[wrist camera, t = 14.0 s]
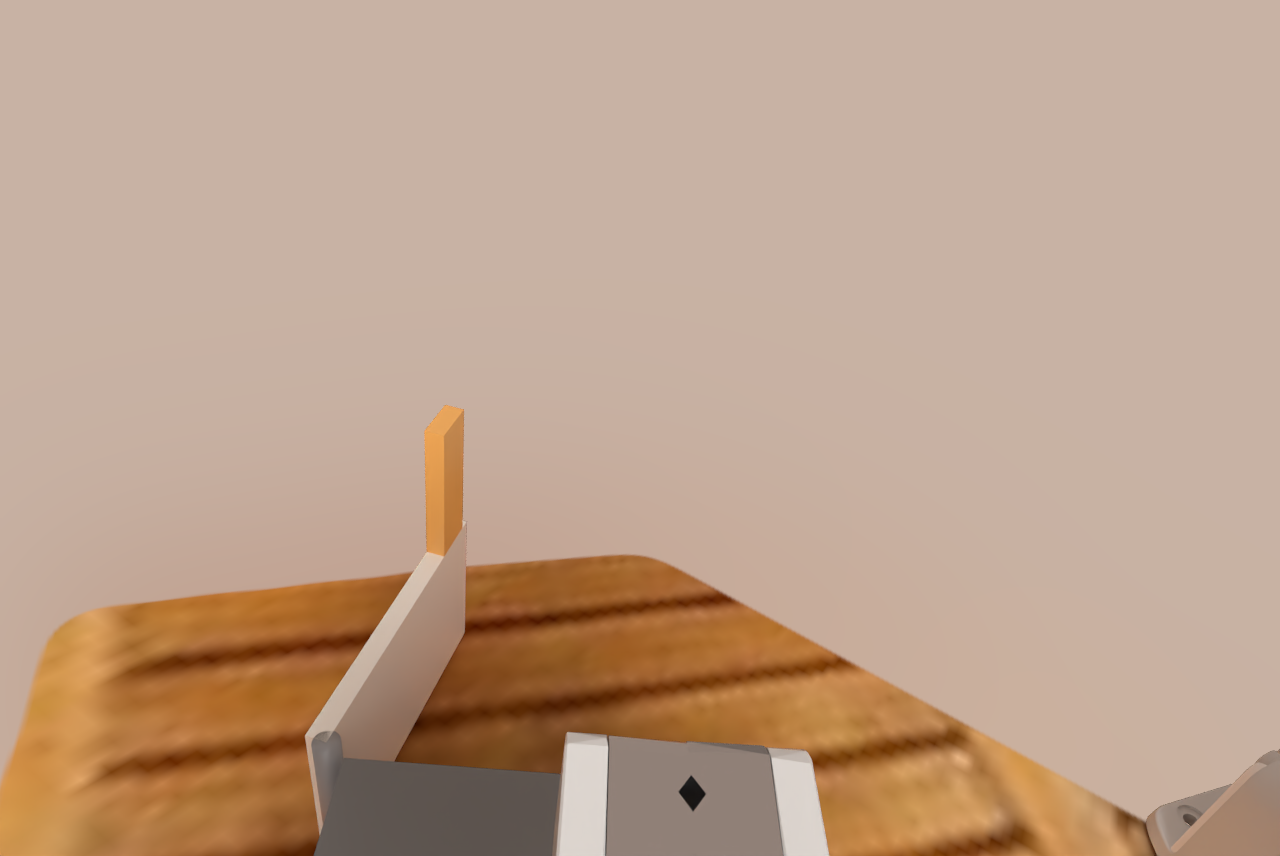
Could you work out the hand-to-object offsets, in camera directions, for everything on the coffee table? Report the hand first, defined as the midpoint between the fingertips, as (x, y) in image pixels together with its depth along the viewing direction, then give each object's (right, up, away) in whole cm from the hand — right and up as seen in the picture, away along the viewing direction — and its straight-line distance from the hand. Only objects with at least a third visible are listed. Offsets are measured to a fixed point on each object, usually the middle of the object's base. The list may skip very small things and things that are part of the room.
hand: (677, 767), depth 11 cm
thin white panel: (-13, -13, +38) cm, 42 cm away
